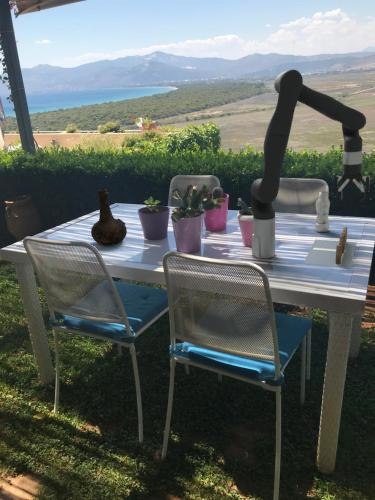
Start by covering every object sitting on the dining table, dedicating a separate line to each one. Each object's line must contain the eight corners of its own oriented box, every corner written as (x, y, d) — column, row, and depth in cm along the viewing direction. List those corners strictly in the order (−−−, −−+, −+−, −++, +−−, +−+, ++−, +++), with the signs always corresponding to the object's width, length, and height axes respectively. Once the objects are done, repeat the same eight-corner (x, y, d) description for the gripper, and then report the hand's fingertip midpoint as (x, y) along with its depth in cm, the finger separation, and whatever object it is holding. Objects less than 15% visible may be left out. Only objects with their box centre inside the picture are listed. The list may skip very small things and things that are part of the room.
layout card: (350, 268, 161) (350, 267, 161) (303, 264, 169) (303, 263, 169) (356, 243, 187) (356, 242, 187) (315, 240, 195) (315, 239, 195)
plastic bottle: (329, 233, 202) (331, 193, 195) (315, 233, 203) (316, 193, 197) (328, 229, 208) (330, 190, 201) (314, 230, 209) (315, 191, 203)
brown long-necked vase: (131, 245, 208) (124, 190, 198) (95, 251, 202) (86, 195, 193) (124, 235, 224) (117, 184, 214) (91, 241, 218) (82, 188, 209)
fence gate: (344, 250, 177) (345, 235, 175) (339, 250, 178) (340, 235, 175) (346, 241, 188) (347, 226, 186) (342, 240, 189) (343, 226, 186)
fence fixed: (340, 264, 164) (341, 246, 162) (335, 264, 165) (336, 246, 163) (343, 252, 177) (344, 235, 174) (339, 252, 178) (339, 235, 175)
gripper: (332, 164, 173) (332, 201, 179) (369, 163, 166) (367, 202, 172) (336, 160, 179) (336, 197, 185) (372, 160, 172) (370, 198, 177)
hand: (351, 199), depth 178 cm, fingers open, 8 cm apart
